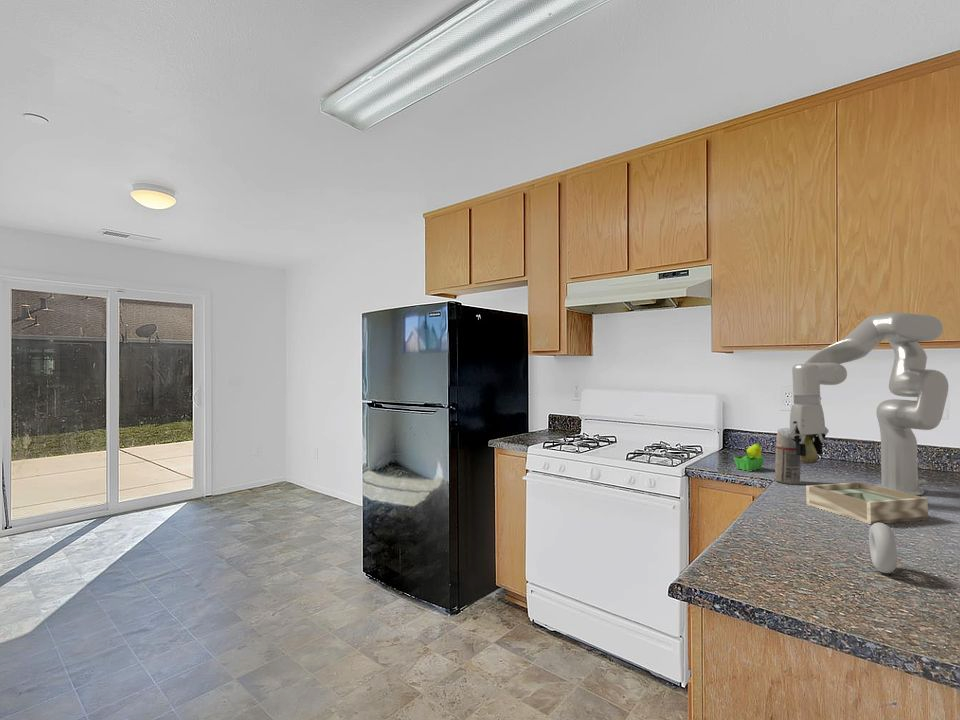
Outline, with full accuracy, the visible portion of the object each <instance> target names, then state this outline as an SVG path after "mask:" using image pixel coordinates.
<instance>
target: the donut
mask: <svg viewBox="0 0 960 720" xmlns="http://www.w3.org/2000/svg"><path fill="white" fill-rule="evenodd" d="M868 531H869V532H868V545H869V552H870V558H871V563H872V564H873V567H874V568H875V569H876V570H877V571H878V572H880V573H883V574H890V573H892V572H894V571H895V570H896V568H897V563H898V551H897V550H898V549H897V543H896V539H895V538H896V537H895V535H894V532H893V531H892V528H891V527H890V526H889V525H887V524H883V523H874V524H873V525H870V527H869V530H868Z"/></svg>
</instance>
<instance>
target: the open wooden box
mask: <svg viewBox="0 0 960 720" xmlns="http://www.w3.org/2000/svg"><path fill="white" fill-rule="evenodd" d="M805 486H806V488H805V491H806V492H805V493H806V500H805V501H806V506H808V507H811V506H812V508H814V507H815V509H818V508H819V509H818V510H821V509H822V510H821V511H824V510H825V511H824V512H827V511H828V512H829V513H831V512H832V513H831V514H834V513H835V514H834V515H837V514H838V516H840V515H842V516H841V517H844V516H846V517H845V518H847V517H849V518H848V519H850V518H852V519H851V520H853V519H856V520H859V521H858V522H860V521H862V522H861V523H863V522H865V523H864V524H866V523H868V524H867V525H869V524H874V523H887V524H895V523H897V522H898V523H907V522H919V521H920V520H921V521H928V520H929V506H928V505H929V504H928V503H929V500H928V498H927V497H924V496H921V495H911V494H907V493H902V492H898V491H894V490H889V489H885V488H881V487H876V485H871V484H868V483H863V482H858V481H857V482H856V481H855V482H845V483H844V482H841V483H827V484H812V485H805ZM856 520H855V521H856ZM898 523H897V524H898Z"/></svg>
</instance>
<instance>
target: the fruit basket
mask: <svg viewBox="0 0 960 720" xmlns="http://www.w3.org/2000/svg"><path fill="white" fill-rule="evenodd" d="M761 446H762V445H760V443H754V444H753V445H751V446H749V447H748V448H746V453H747V454H746V455H740V456H739V455H738V456H733V460H734V462H735V467H736V469H737V468H738V469H742V470H741V471H744V470H748V471H747V472H752V471H751V470H754V471H756V470H755V469H760V470H762V467H763V463H764V460H766V459H765V457H762V447H761ZM738 469H737V470H738Z"/></svg>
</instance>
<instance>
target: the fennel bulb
mask: <svg viewBox="0 0 960 720" xmlns="http://www.w3.org/2000/svg"><path fill="white" fill-rule="evenodd" d="M813 441H814V440H813V435H806V436H805V440H804V443H803V444H805V448H806V456H800V460H801V463H802V464H805V465H807V464H808V465H809V464H810V465H811V464H816V463H818V460H819V454H817V451H816V449H815V447H814V444H813Z"/></svg>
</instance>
